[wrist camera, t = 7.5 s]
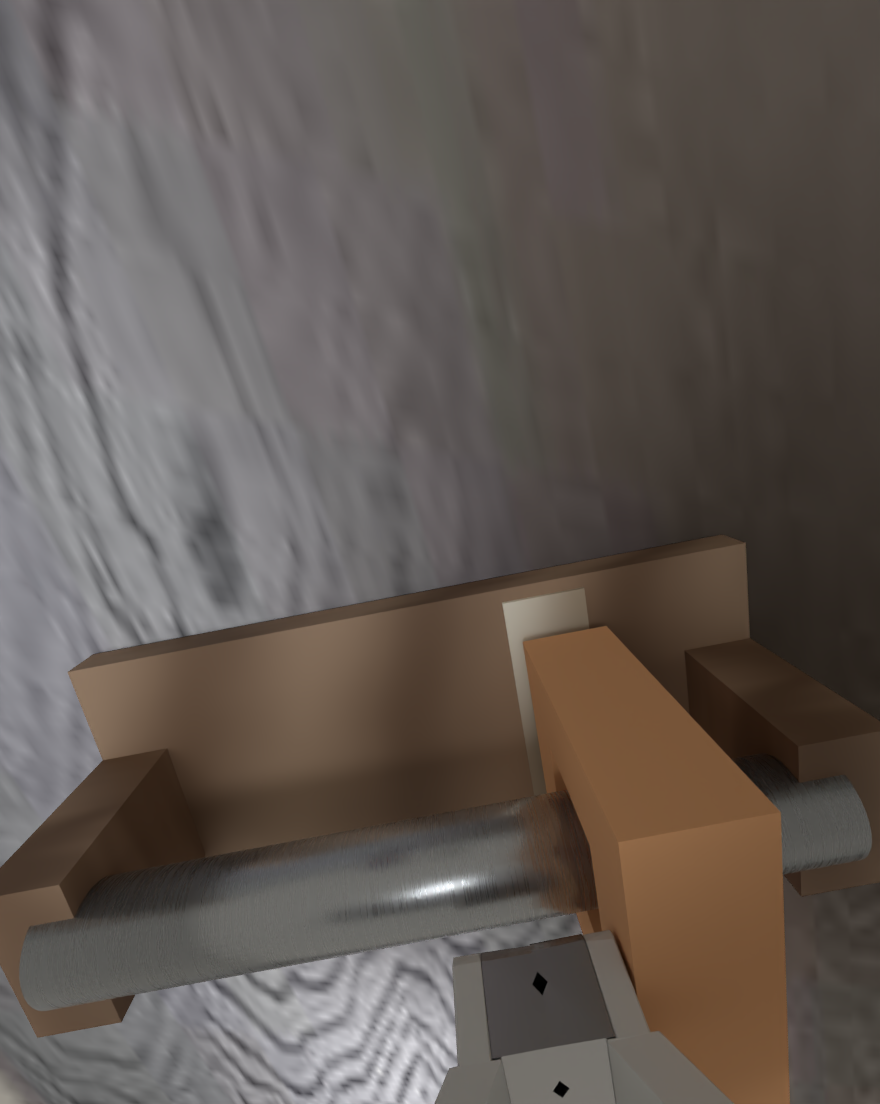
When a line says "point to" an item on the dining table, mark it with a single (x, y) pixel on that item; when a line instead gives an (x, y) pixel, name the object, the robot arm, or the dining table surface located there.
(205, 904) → the pipe
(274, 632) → the base board
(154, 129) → the dining table surface
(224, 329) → the dining table surface
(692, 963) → the collar
